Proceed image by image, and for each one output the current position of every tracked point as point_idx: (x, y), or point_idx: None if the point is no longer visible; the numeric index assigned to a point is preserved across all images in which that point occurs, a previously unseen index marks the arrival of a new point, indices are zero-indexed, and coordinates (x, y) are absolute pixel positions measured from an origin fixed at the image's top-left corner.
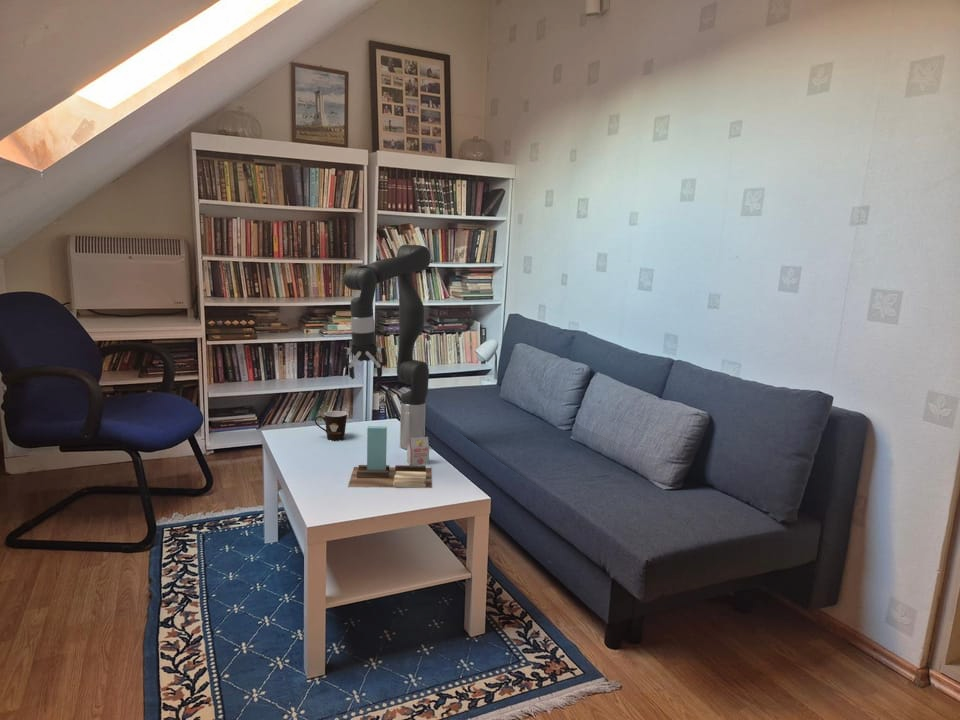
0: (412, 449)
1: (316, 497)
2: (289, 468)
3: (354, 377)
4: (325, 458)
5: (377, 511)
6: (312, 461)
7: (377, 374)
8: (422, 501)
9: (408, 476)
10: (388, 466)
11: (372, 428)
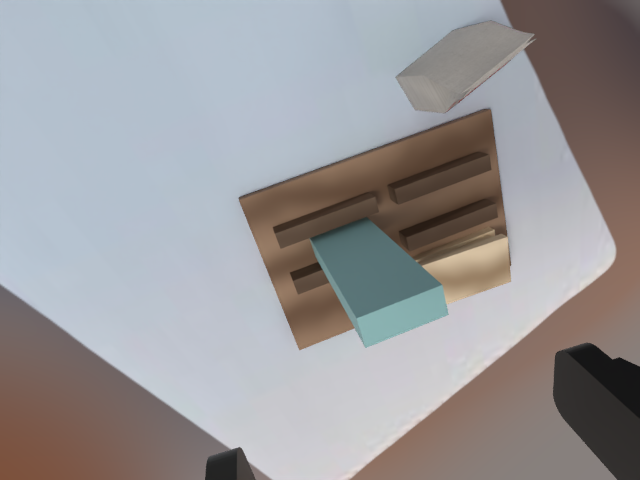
0: (454, 104)
1: (244, 411)
2: (8, 272)
3: (242, 453)
4: (59, 119)
5: (410, 409)
6: (34, 173)
7: (599, 453)
8: (492, 327)
9: (465, 289)
10: (375, 209)
11: (387, 337)
